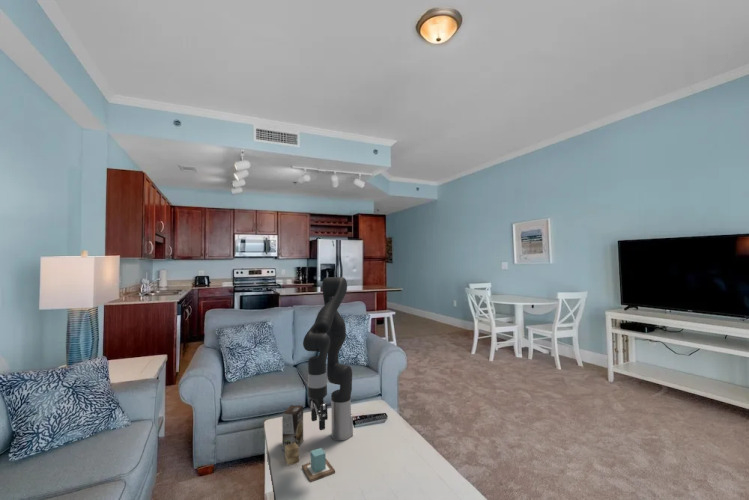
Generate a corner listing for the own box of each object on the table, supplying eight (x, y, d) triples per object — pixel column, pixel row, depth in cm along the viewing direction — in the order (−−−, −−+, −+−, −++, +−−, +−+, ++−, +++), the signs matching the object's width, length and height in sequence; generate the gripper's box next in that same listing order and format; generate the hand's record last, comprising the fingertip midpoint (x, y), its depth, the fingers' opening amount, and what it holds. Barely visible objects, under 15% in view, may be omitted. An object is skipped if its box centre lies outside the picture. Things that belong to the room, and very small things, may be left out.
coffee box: (295, 452, 145) (295, 414, 145) (281, 450, 146) (281, 413, 147) (304, 440, 154) (303, 405, 154) (291, 439, 155) (290, 404, 156)
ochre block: (295, 456, 142) (295, 442, 142) (298, 462, 138) (298, 447, 138) (284, 460, 139) (284, 445, 140) (288, 465, 135) (287, 450, 136)
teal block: (321, 462, 135) (321, 447, 135) (325, 468, 131) (325, 453, 131) (310, 466, 133) (310, 451, 133) (314, 472, 129) (314, 456, 129)
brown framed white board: (325, 460, 139) (325, 457, 139) (335, 473, 130) (335, 470, 130) (301, 468, 134) (301, 465, 134) (310, 482, 125) (310, 479, 125)
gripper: (333, 387, 129) (334, 430, 128) (319, 376, 141) (320, 415, 141) (314, 391, 125) (315, 435, 124) (302, 380, 137) (303, 420, 137)
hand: (318, 424), depth 132 cm, fingers open, 8 cm apart
